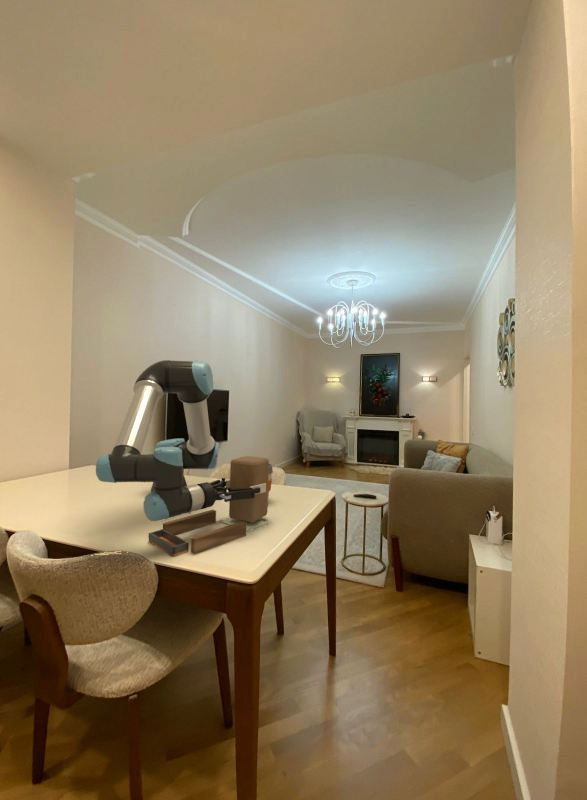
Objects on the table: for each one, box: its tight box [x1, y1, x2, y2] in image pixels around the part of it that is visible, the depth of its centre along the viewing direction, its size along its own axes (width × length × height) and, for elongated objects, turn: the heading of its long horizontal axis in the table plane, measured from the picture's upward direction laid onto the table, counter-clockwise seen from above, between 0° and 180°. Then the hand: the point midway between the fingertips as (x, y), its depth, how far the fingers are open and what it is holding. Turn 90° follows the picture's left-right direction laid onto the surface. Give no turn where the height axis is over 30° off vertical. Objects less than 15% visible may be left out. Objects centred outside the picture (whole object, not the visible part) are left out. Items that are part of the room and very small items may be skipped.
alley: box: [162, 509, 247, 555], centre depth 108 cm, size 18×18×4 cm
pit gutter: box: [148, 528, 190, 557], centre depth 100 cm, size 14×4×2 cm, turn 48°
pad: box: [219, 517, 269, 533], centre depth 120 cm, size 13×10×1 cm
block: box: [228, 455, 270, 523], centre depth 121 cm, size 10×10×20 cm
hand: (252, 484), depth 122 cm, fingers closed on block, 12 cm apart
